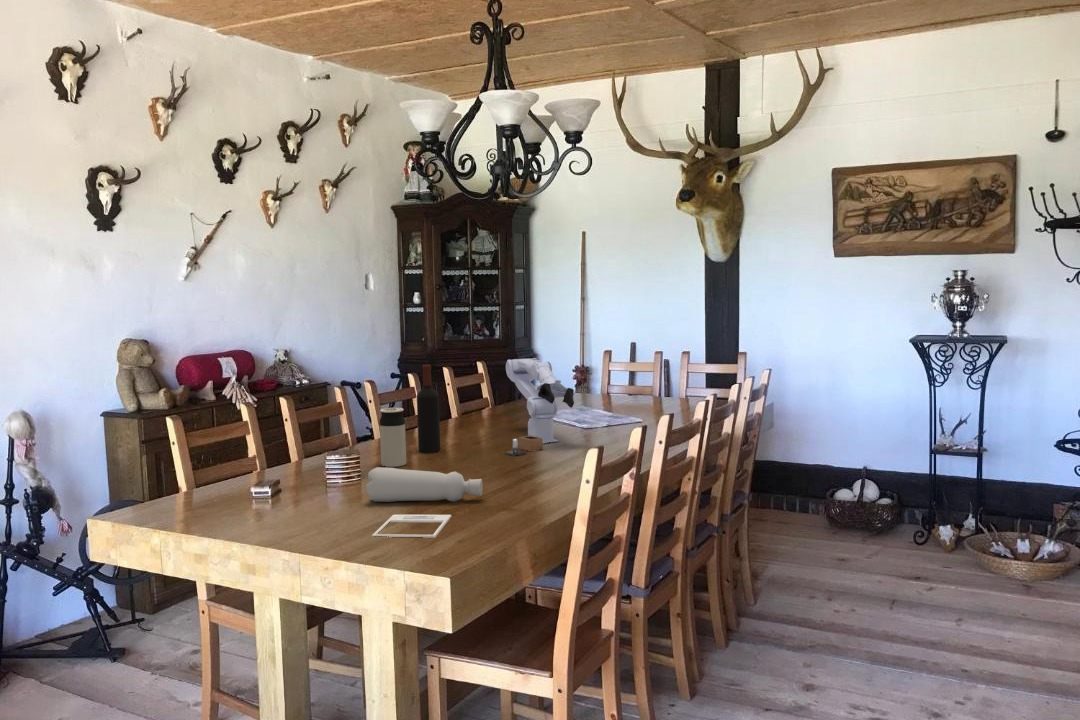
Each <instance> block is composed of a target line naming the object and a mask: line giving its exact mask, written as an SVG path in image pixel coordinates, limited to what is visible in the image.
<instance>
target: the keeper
mask: <svg viewBox="0 0 1080 720" xmlns="http://www.w3.org/2000/svg"><path fill="white" fill-rule="evenodd" d="M506 454H507V455H506ZM522 454H526V455H527V451H525V450H521V449H519V438H512V450H509V451H505V455H506V456H510V455H512V456H511V457H517V456H516V455H519V456H523V455H522Z"/></svg>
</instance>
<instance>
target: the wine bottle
mask: <svg viewBox="0 0 1080 720" xmlns="http://www.w3.org/2000/svg"><path fill="white" fill-rule="evenodd" d="M422 381H423V382H422V383H423V385H422V389H421V390H420V391H419V392H417V394H416V412H417V413H416V415H417V416H416V417H417V418H416V419H417V440H418V442H417V443H418V453H420V452H421V453H420V454H436V453H439V451H440V450H441V430H440V429H441V426H440V424H441V423H440V421H441V419H440V398H439V393H438V392H437V391H436V390H435V389H434V388H433V386H432V366H431V364H428V363H427V364H422ZM435 452H436V453H435ZM440 452H441V451H440Z"/></svg>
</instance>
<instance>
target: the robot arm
mask: <svg viewBox="0 0 1080 720" xmlns="http://www.w3.org/2000/svg"><path fill="white" fill-rule="evenodd" d="M505 371H506V376H507V378H509V380H510V381H511V382H513V383H514V385H515V386H516V387H517V389H518V391H519V392H520V393H521V394H522V395H523V397H524V398H525V399H526V400H527V401H526V410H527V411H528V414H529V416H530V418H529V420H528V422H527V436H535V437H539V438H543V444H547V443H549V442H550V443H554V442H559V439H556V438H554V418H555V416H556V415H557V413H558V409H559V405H558V401H557V398H563V399H562V403H564V404H566V405H567V406H568V407H569V408H572V409H573V407H574V405H575V400H574V396H575V391H574V389H573V388H571V387H566V386H565V385H563V384H561V383H562V380H561V379H558V378H557V377H556V375H554V372H553V367H552V364H551V362H550V361H545V362H543V361H542V360H540V359H539V360H538V358H536V357H534V358H514V359H507V361H506V363H505ZM534 380H536V381H538V382H537V383H535V385H534V384H533V382H532V381H534Z"/></svg>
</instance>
